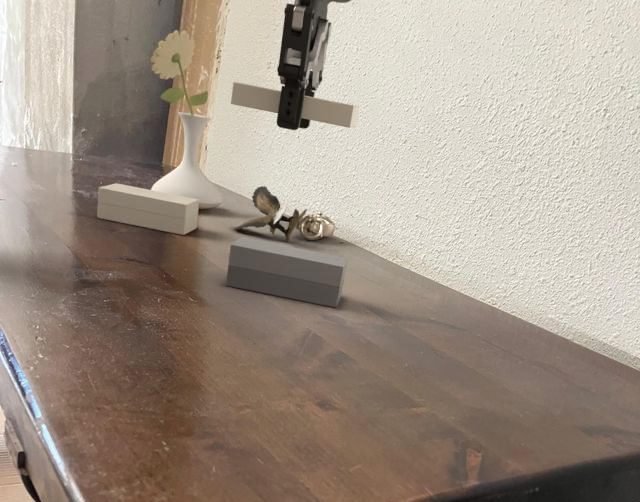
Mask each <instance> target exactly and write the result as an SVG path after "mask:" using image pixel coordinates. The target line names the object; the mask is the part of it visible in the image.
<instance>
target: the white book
mask: <svg viewBox="0 0 640 502" xmlns="http://www.w3.org/2000/svg"><path fill="white" fill-rule="evenodd" d="M280 95H281V90H280V89H279V90H278V89H274V88H268V87H264V86H258V85H254V84H249V83H243V82H238V81H237V82H236V81H234V82H233V83H232V89H231V98H230V104H231V105H233V106H235V105H236V106H239V107H245V108H249V109H253V110H254V109H255V110H259V111H264V112H269V113H273V114H278V109H279V102H280ZM359 110H360V106H359V105H355V104H349V103H344V102H339V101H334V100H329V99H324V98H319V97H315V96H314V97H309V96H304V102H303V108H302V114H301V118H303V119H308V120H310V121H314V122H318V123H323V124H329V125H333V126H338V127H342V128H343V127H344V128H348V129H349V128H350V129H351V128H355V127H356V126H357V120H358V116H359Z"/></svg>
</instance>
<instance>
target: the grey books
mask: <svg viewBox="0 0 640 502" xmlns="http://www.w3.org/2000/svg"><path fill="white" fill-rule="evenodd" d="M348 260H349V259H348V257H343V256H339V255H333V254H329V253H323V252H318V251H314V250H309V249H304V248H300V247H299V248H298V247H293V246H288V245H284V244H280V243H279V244H278V243H273V242H268V241H264V240H259V239H253V238H248V237H244V236H243V237H242V236H241V237H240V238H238V239H237V240H235V241H234V242H232V243H231V244H230V248H229V255H228V265H227V273H226V281H225V286H226V287H231V288H237V289H242V290H246V291H250V292H251V291H252V292H257V293H262V294H265V295H271V296H276V297H281V298H285V299H286V298H287V299H291V300H297V301H300V302H306V303H311V304H316V305H320V306H324V307H325V306H326V307H331V308H335V309H336V308H337V306H338V304H339V302H340V300H341V298H342V292H343V288H344V287H343V286H344V280H345V276H346V270H347V265H348Z"/></svg>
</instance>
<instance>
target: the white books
mask: <svg viewBox="0 0 640 502" xmlns="http://www.w3.org/2000/svg"><path fill="white" fill-rule="evenodd" d="M198 208H199V199H194V198H189V197H184V196H179V195H174V194H168V193H163V192H158V191H153V190H151V189H148V188H143V187H138V186H133V185H127V184H122V183H118V182H115V183H112V184H111V183H110V184H107V185H102V186H99V187H98V194H97V215H96V217H97V219H101V220H106V221H111V222H117V223H121V224H126V225H131V226H137V227H142V228H145V229H151V230H156V231H161V232H166V233H172V234H176V235H181V236H185V235H186V234H188V233H190V232H193V231H194V230H196V229H197V226H198V217H199V216H198V215H199V209H198Z"/></svg>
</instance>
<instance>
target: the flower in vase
mask: <svg viewBox="0 0 640 502" xmlns="http://www.w3.org/2000/svg"><path fill="white" fill-rule="evenodd" d="M157 46H158V47H157V48H156V49H155V50H154V51H153V52H152V56H151V57H150V62H151V63H153V64H152V65H151V67H150V70H151V71H153V73H154V74H155V75H159V79H161V80H168V79H174V78H175V77H176V76H181V80H182V81H181V82H182V87H183V90H182V89H181V88H180V87H179V86H172V87H170V88H168V89H166V90H165V91H164V92H163V93H162V94H161V96H160V99H162V100H163V101H165V102H167V103H171V104H176V103H178V102H179V101H180V100H182V98H183V97H184V96H185V99H186V102H187V106H188V108H189V110H190V112H183V111H178V112H177V114H178V115H179V118H180V119H181V123H182V126H183V127H182V128H183V133H184V134H183V135H184V147H183V156H182V160H181V161H180V164H179V165H178V166H176V168H174V169H173V170H172V171H170V172H168V173H167V174H166V175H164V176H163V177H161V178H159V179H158V180H157V181H156V182H155V183H154V184H152V186H151V189H150V190H153V191H158V192H163V193H168V194H174V195H179V196H184V197H189V198H194V199H199V208H198V210H199V209H200V210H201V209H205V210H206V209H212V208H216V207H220V206H221V204H222V203H223V197H222V194H221V193H220V191H219V189H217V187H216V186H215V185H214V183H213V182H211V180H210V179H209V178H208V177H207V175H205V173H204V172H203V171H202V169H201V167H200V164H199V149H200V143H201V139H202V135H203V132H204V129H205V127H206V125H207V124H208V123H209V122H210V120H211V119H212V118H211V117H210V116H207V115H203V114H202V115H201V114H196V113H194V111H193V107H196V106H202V105H205V104H206V103H207V102H208V99H209V98H208V97H209V91H208V90H206V91H203V92H201V93H198V94H194V95H190V97H189V95H188V92H187V87H186V80H185V76H184V71H186V70H187V68H189V67H188V66H190V65H191V64H192V62H193V60H192V58H193V56H194V55H195V51H194V50H195V49H196V44H195V40H194V38H190V33H188V32H187V31H186V30H185V29H184V30H181V32H179V30H178V29H176V30H174V31H173V32H170V33H169V34H168V35H167V36H166V37H165V39H164V40H159V42H158V43H157Z"/></svg>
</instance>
